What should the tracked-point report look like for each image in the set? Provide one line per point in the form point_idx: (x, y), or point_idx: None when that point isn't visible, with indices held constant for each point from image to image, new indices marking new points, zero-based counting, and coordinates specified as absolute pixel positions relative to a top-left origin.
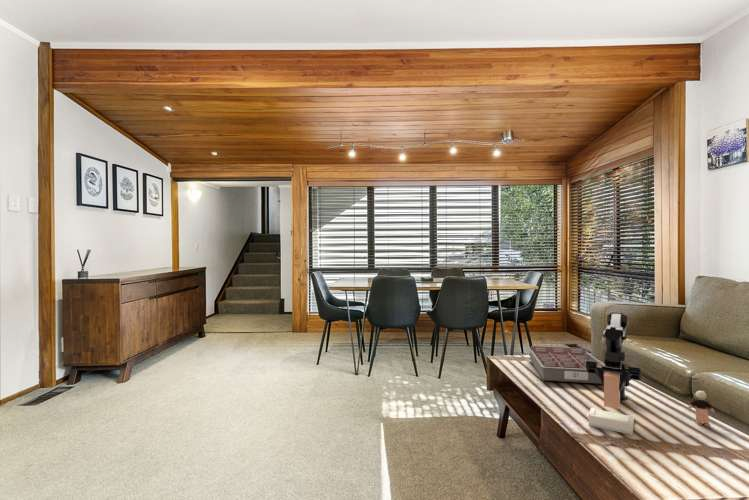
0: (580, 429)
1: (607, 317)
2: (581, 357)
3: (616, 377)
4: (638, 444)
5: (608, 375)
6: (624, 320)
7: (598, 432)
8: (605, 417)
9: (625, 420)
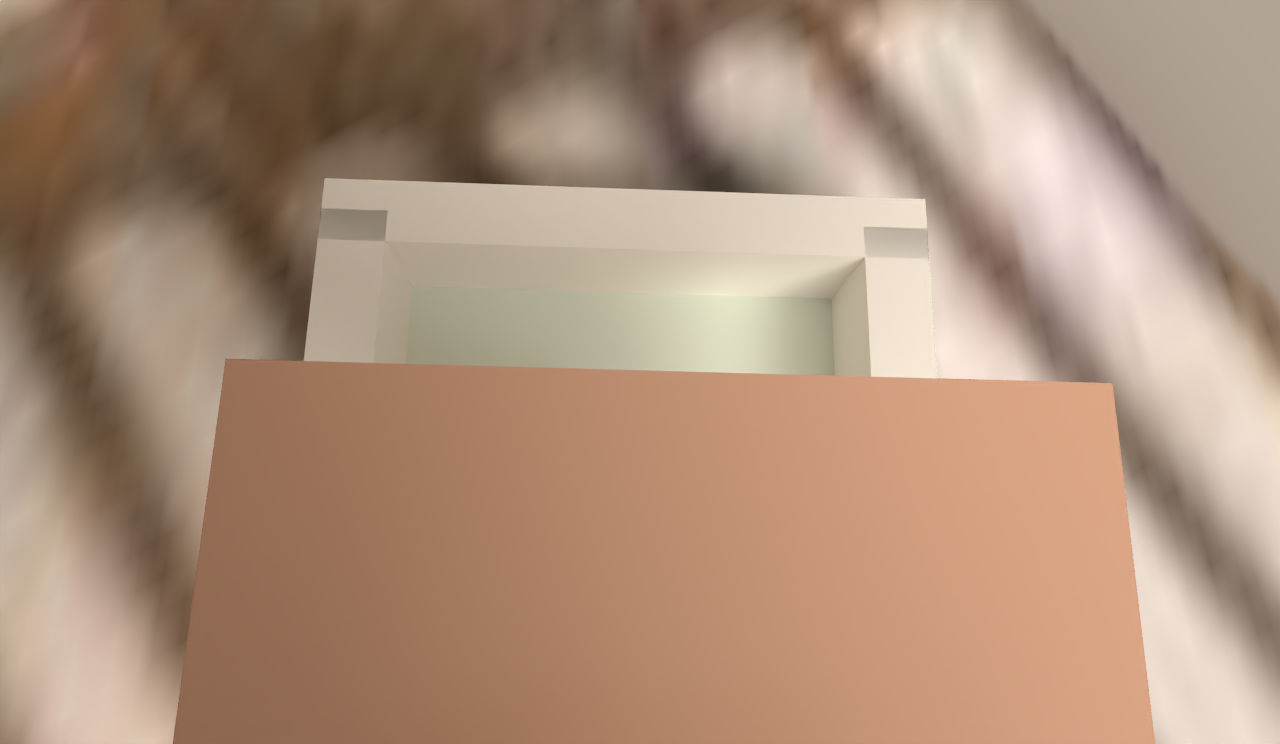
0: (932, 96)
1: None
2: None
3: (377, 373)
4: (329, 24)
5: (858, 505)
6: None
7: (741, 118)
8: (693, 229)
9: None
